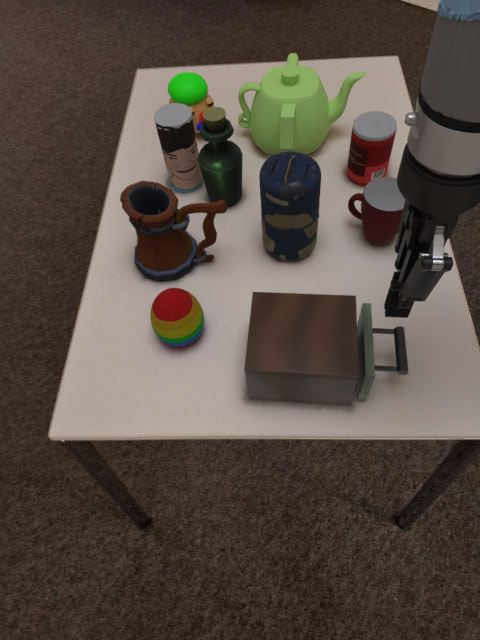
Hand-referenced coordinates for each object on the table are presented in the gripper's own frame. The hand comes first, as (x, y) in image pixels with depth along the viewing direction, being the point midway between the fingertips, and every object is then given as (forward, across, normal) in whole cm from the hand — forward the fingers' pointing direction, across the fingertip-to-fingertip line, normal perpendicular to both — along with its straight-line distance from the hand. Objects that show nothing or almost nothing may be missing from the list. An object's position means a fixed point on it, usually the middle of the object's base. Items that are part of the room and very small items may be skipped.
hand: (395, 310), depth 59 cm
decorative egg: (+16, -5, -30) cm, 35 cm away
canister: (+16, -24, -14) cm, 32 cm away
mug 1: (+16, -20, -32) cm, 41 cm away
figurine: (+16, -56, -36) cm, 69 cm away
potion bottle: (+16, -36, -27) cm, 48 cm away
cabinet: (+15, 0, -11) cm, 19 cm away
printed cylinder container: (+16, -40, -35) cm, 56 cm away
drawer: (+15, 0, -6) cm, 16 cm away
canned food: (+16, -43, 0) cm, 46 cm away
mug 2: (+16, -27, +1) cm, 31 cm away
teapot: (+16, -55, -14) cm, 58 cm away
